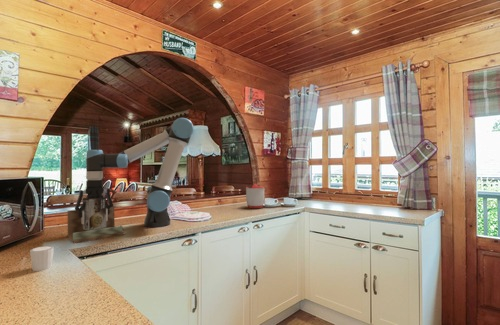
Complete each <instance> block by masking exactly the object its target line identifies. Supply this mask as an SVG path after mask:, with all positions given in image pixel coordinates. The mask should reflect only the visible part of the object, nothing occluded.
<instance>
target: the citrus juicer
mask: <svg viewBox="0 0 500 325" xmlns="http://www.w3.org/2000/svg"><path fill="white" fill-rule="evenodd" d="M245 199H246V200H245V201H246V204H247V207H248V208H249V209H253V210H257V209H262V208H263V207H264V204H265V186H259V185H258V184H257V183H254V184H253V185H252V186H251V187H249V186H245Z"/></svg>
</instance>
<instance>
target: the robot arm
mask: <svg viewBox="0 0 500 325" xmlns="http://www.w3.org/2000/svg"><path fill="white" fill-rule="evenodd" d="M194 130H195V128H194V124H193V122H192V121H191V120H190V119H188V118H185V117H178V118H176V119H175V120H174V121H173V123H172V124H171V125H170V126H168V127H167V128H165V129H164V130H163V132H160V133H158V134H156V135H155V136H152V137H151V138H148V139H146V140H144V141H142V142H140V143H137V144H136V145H134V146H131V147H129V148H127V149H125V150H123V151H121V152H119V153H104V151H103V149H88V150H87V151H86V158H85V159H86V160H85V161H86V163H85V164H86V167H85V168H86V181H85V182H86V184H85V185H86V186H85V187H86V188H85V190H79V191H78V193H79V194H78V198H77V201H76V203H75V207H74V210H78V211H79V217H80V218H81V224H84V211H83V209H84V207H85V206H86V201H85V202H83V198H84V195H85V194H86V197H85V198H87V199H90V198H94V197H100V198H102V197H104V196H103V195H102V194H103V193H104V194H105V197H106V200H107V201H106V221H108V214H109V213H110V207H113V206H114V203H113V200H112V197H111V194H110V192H111V190H110V188H104V180H103V179H104V174H103V173H104V169H126V168H128V164H130V163H132V162H134V161H136V160H138V159H140V158H142V157H144V156H147V155H149V154H151V153H153V152H155V151H157V150H159V149H161V148H163V147H165V146H166V145H167V149H166V151H165V154H164V157H163V160H162V163H161V166H160V169H159V171H158V174H157V178H156V181H155V182H154V183H151V186H147V188H146V189H147V190H146V215H145V218H144V221H143V226H145V227H147V228H160V227H166V226H170V225H171V218H170V214H169V212H168V207H169V205H170V203H171V197H172V193H173V188H172V185H173V181H174V179H175V175H176V173H177V170H178V166H179V164H180V162H181V157H182V155H183V153H184V149H185V147H186V146H189V142H190V139H191V137H192V135H193V134H194Z"/></svg>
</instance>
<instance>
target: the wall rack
mask: <svg viewBox="0 0 500 325" xmlns="http://www.w3.org/2000/svg"><path fill="white" fill-rule="evenodd" d="M66 211H67V235H66V236H67V237H68V238H69V239H70V241H72V242H73V244H80V243H85V242H86V243H87V242H90V241H91V242H92V241H97V240H102V239H109V238H113V237H114V236H115V237H120V236H124V235H125V232H123V226H122V225H116V226H115V222H116V221H115V205H113V207H110V213H109V214H108V221H106V227H105V228H100V229H96V230H90V231H88V230H84V229H83V224H81V218H80V217H79V211H78V210H75V209H73V210H66Z"/></svg>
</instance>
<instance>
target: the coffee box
mask: <svg viewBox="0 0 500 325" xmlns="http://www.w3.org/2000/svg"><path fill="white" fill-rule="evenodd" d="M85 201H86V206H85V207H84V209H83V211H84V224H83V229H84V230H88V231H90V230H96V229H100V228H105V227H106V202H107V196H103V197H102V198H100V197H94V198H90V199H87V198H86V197H82V203H83V202H85Z"/></svg>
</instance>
